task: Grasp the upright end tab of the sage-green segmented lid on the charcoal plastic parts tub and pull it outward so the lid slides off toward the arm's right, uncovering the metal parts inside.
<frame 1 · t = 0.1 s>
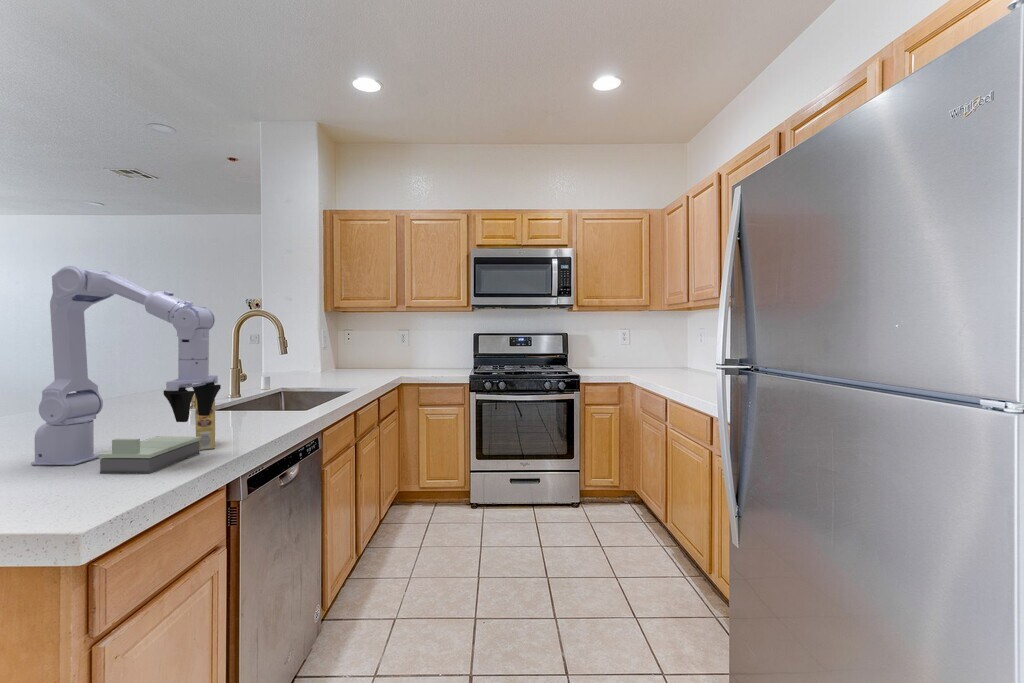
hand: (193, 418, 104), 10 cm above the worktop, fingers open, 7 cm apart
candy box: (205, 447, 118), on the worktop
lid: (153, 439, 103), point 5 cm above the worktop, slide at 0.0 cm
tub: (153, 462, 103), on the worktop
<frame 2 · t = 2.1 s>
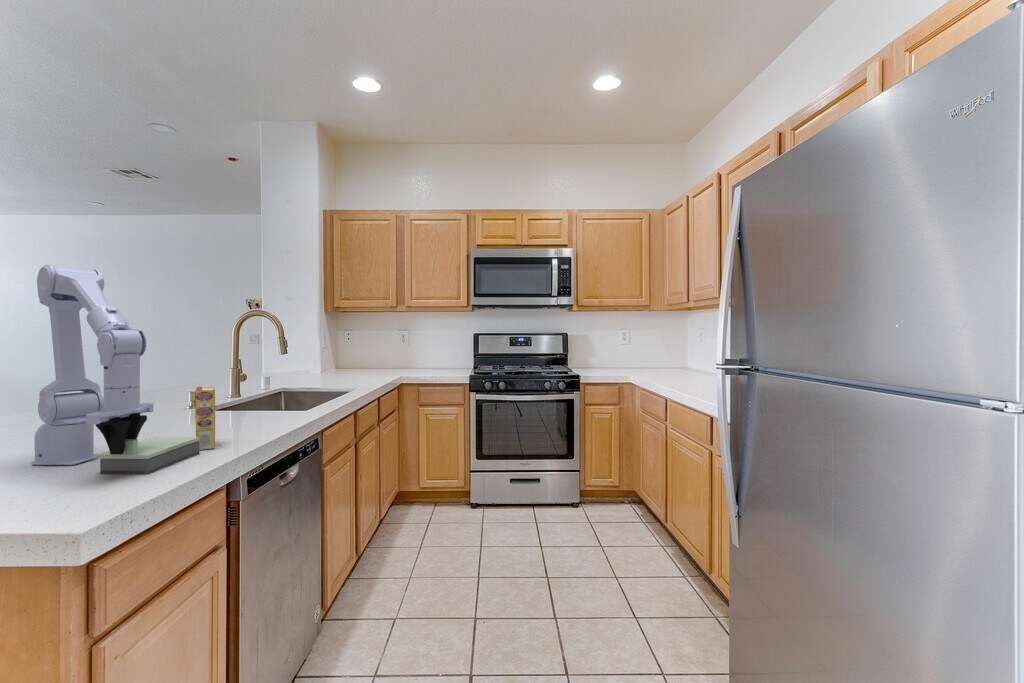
hand: (122, 452, 95), 5 cm above the worktop, fingers closed
lid: (151, 440, 103), point 5 cm above the worktop, slide at 0.6 cm, touching gripper
everything else where it was.
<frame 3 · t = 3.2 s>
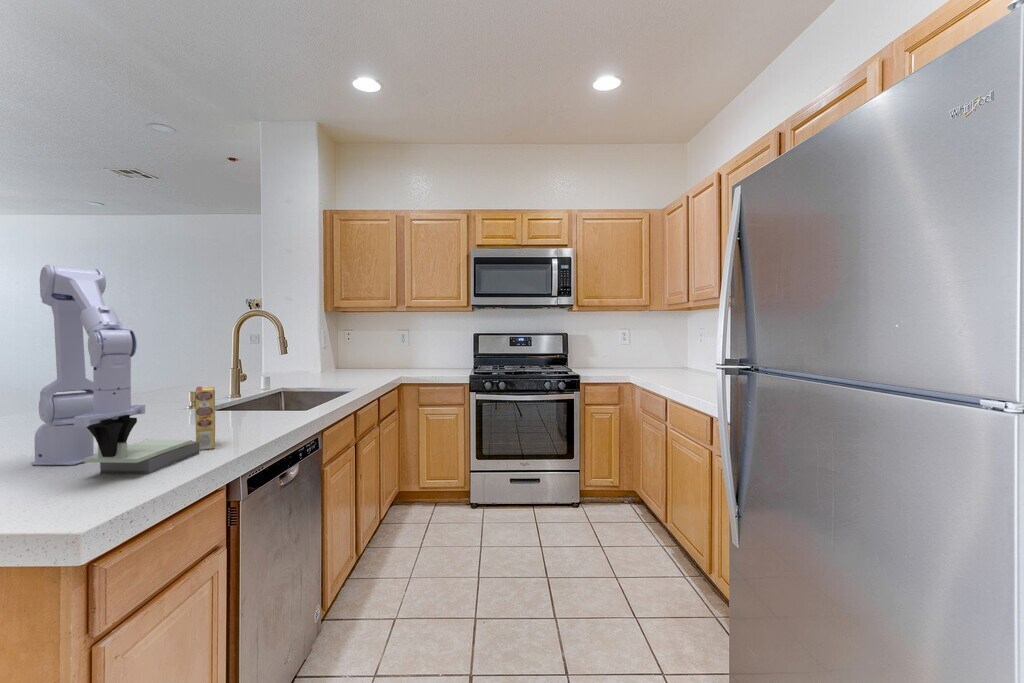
hand: (112, 455, 92), 5 cm above the worktop, fingers closed on lid
lid: (142, 443, 100), point 5 cm above the worktop, slide at 3.3 cm, touching gripper
everything else where it was.
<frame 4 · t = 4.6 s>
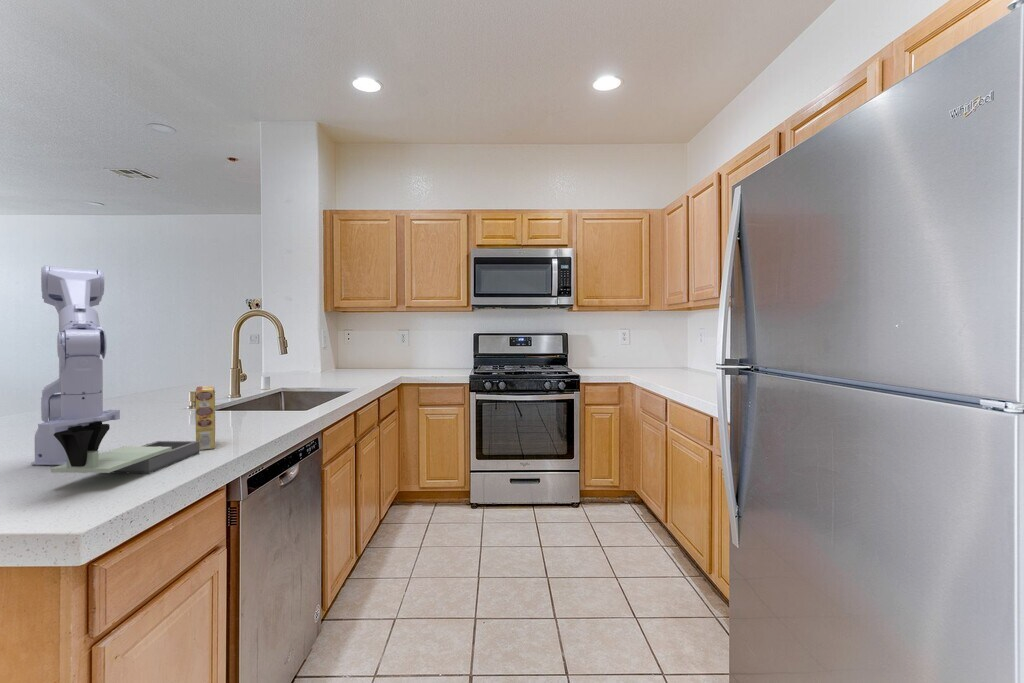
hand: (82, 464, 86), 5 cm above the worktop, fingers closed on lid
lid: (116, 451, 93), point 5 cm above the worktop, slide at 10.0 cm, touching gripper
everything else where it was.
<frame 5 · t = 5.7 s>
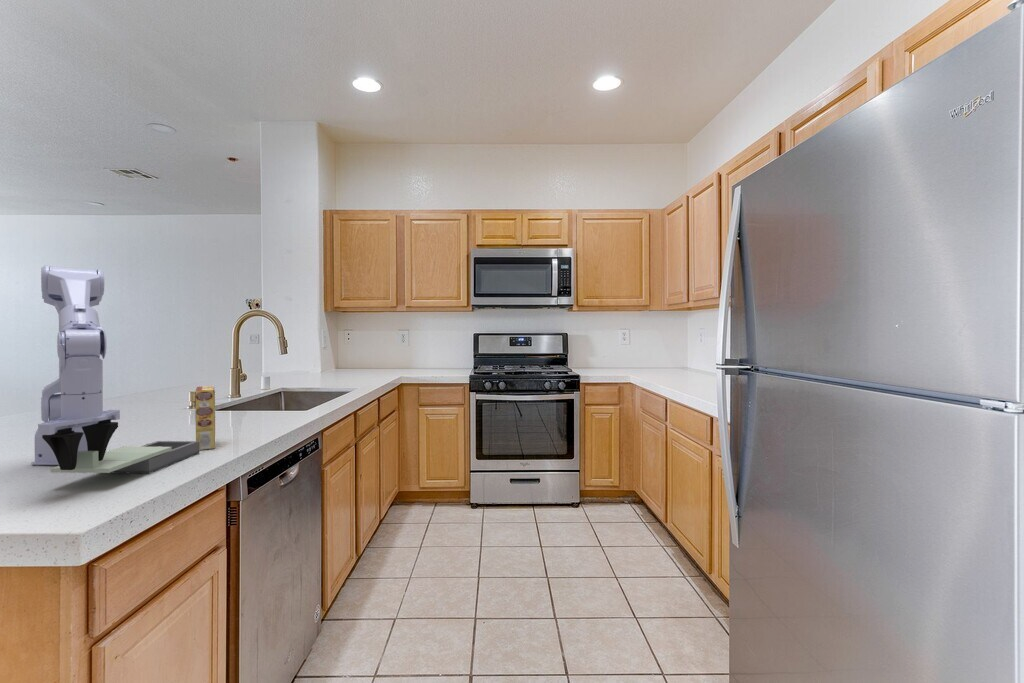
hand: (82, 464, 86), 5 cm above the worktop, fingers open, 5 cm apart
lid: (116, 451, 93), point 5 cm above the worktop, slide at 10.0 cm
everything else where it was.
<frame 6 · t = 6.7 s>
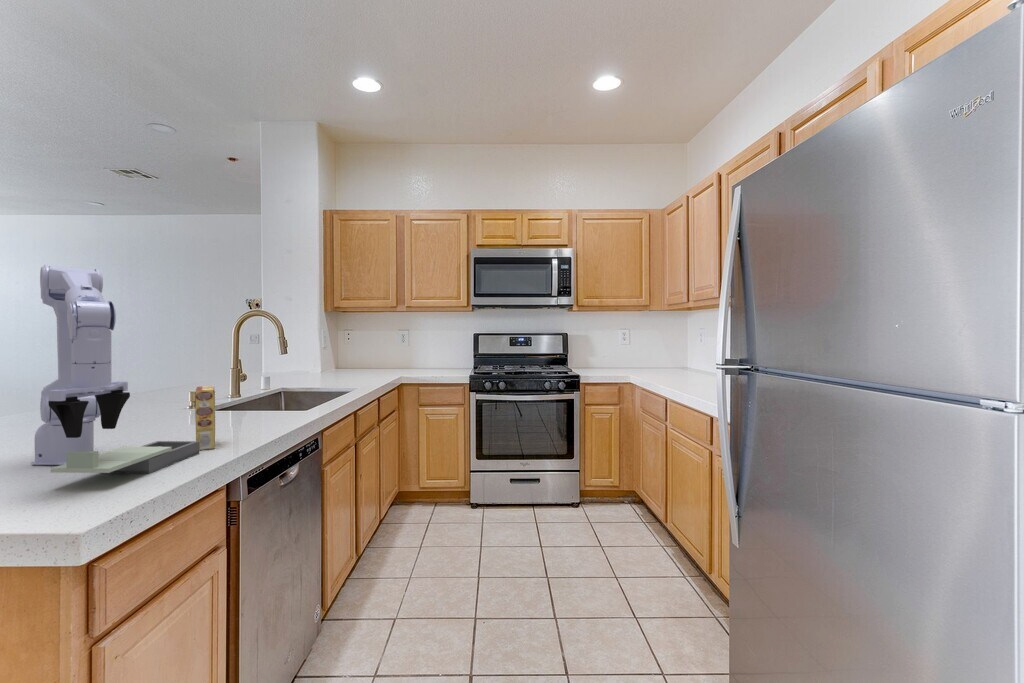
hand: (91, 432, 88), 10 cm above the worktop, fingers open, 7 cm apart
nothing on the worktop moved.
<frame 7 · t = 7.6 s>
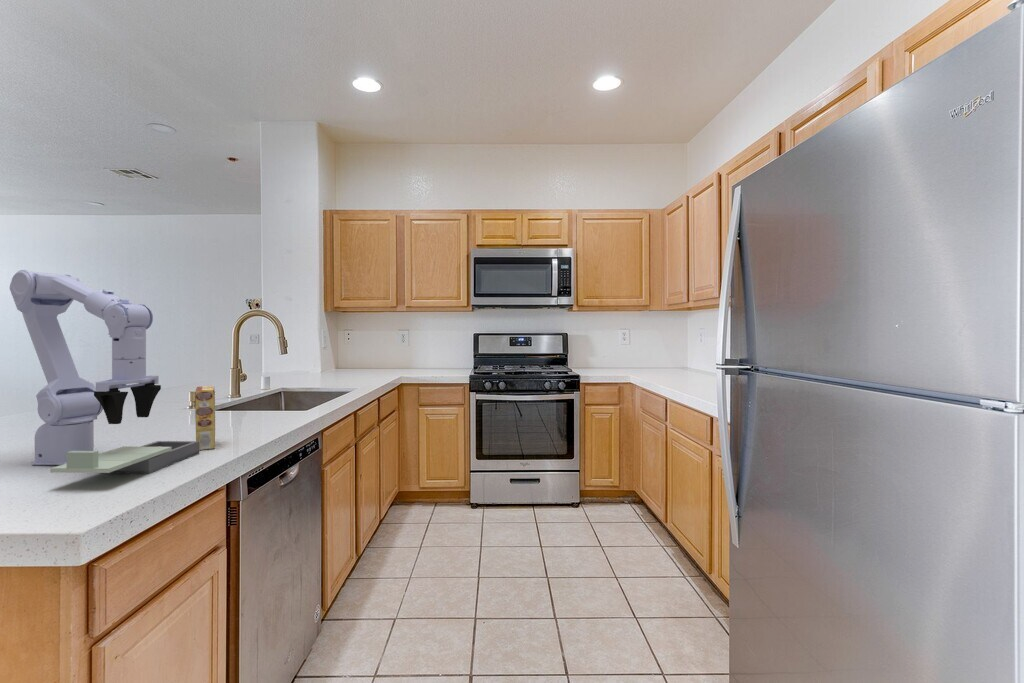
hand: (129, 420, 100), 10 cm above the worktop, fingers open, 7 cm apart
nothing on the worktop moved.
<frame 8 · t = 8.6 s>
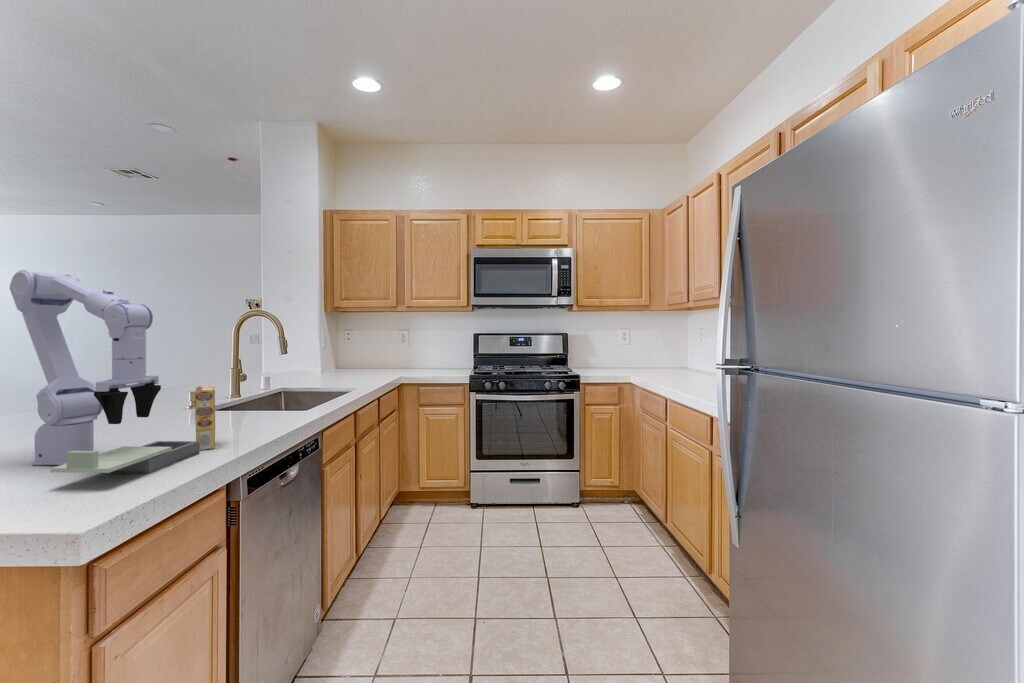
hand: (129, 420, 100), 10 cm above the worktop, fingers open, 7 cm apart
nothing on the worktop moved.
at the end: lid slide at 10.0 cm; the gripper is holding nothing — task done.
